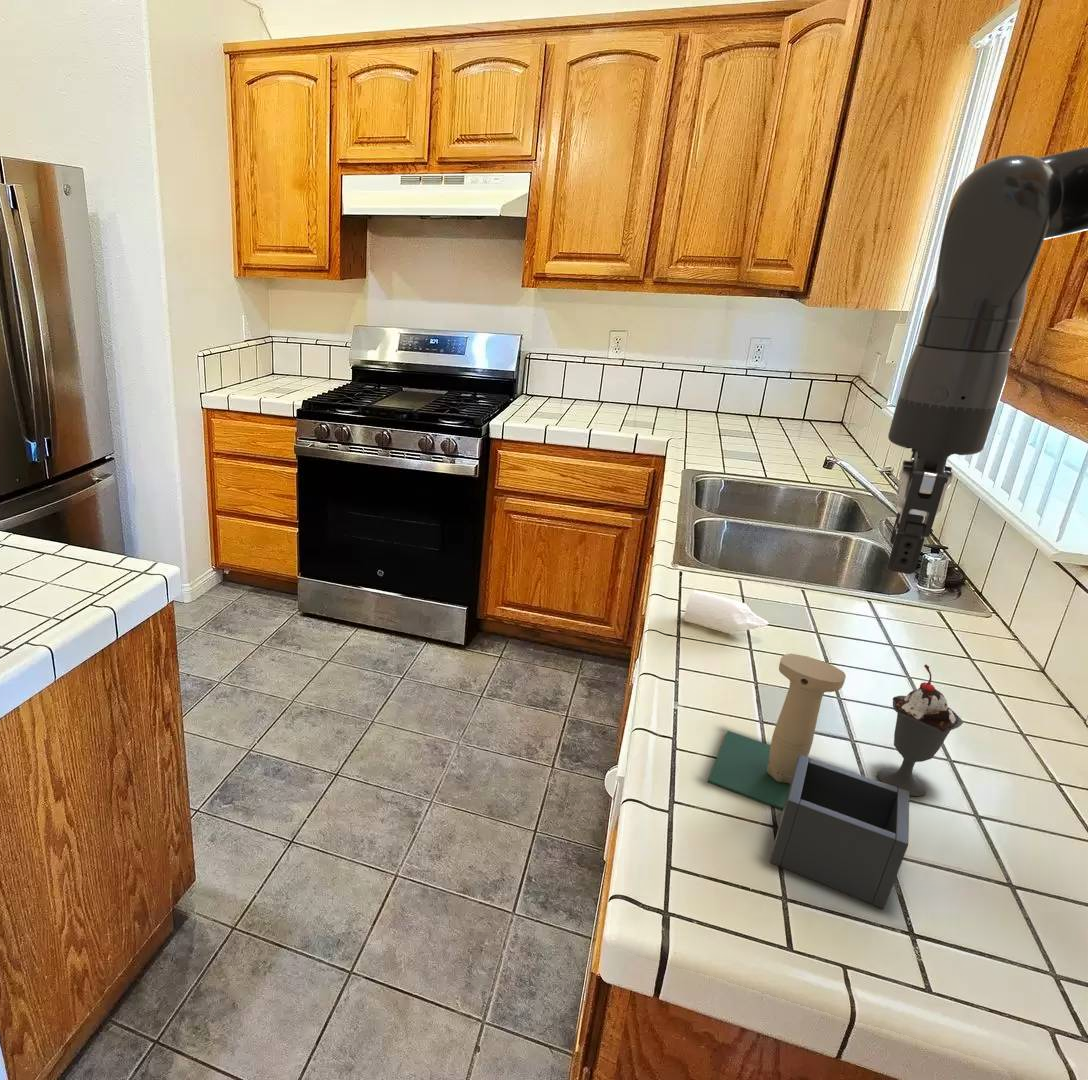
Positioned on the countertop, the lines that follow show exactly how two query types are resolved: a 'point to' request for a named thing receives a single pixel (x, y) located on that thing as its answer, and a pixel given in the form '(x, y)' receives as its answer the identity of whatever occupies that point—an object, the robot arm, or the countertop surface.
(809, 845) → the grey box
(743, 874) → the countertop surface
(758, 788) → the mat
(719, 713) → the countertop surface
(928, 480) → the robot arm
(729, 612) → the white tapered piece
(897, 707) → the sundae
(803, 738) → the handle
